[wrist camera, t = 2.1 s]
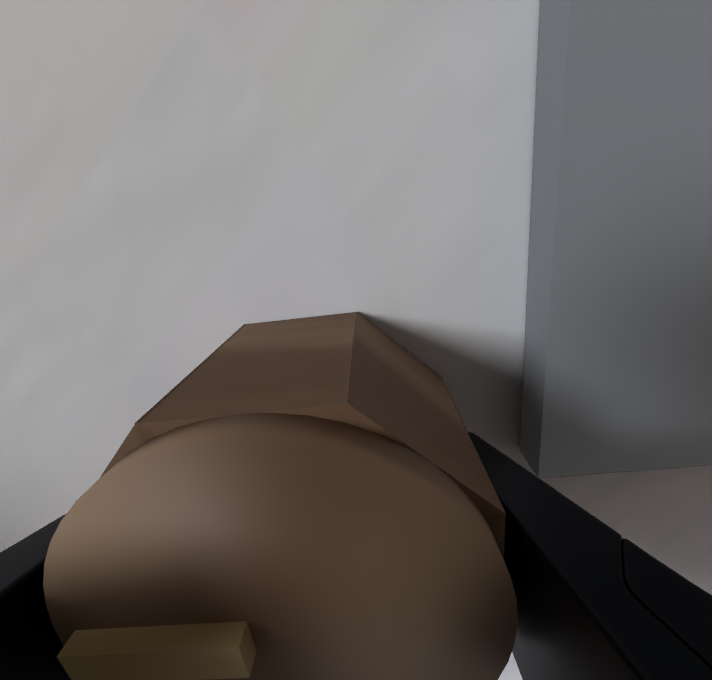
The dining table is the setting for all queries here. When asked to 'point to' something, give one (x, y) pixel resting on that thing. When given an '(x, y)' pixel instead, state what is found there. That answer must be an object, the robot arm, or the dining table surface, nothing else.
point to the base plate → (620, 239)
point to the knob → (289, 525)
